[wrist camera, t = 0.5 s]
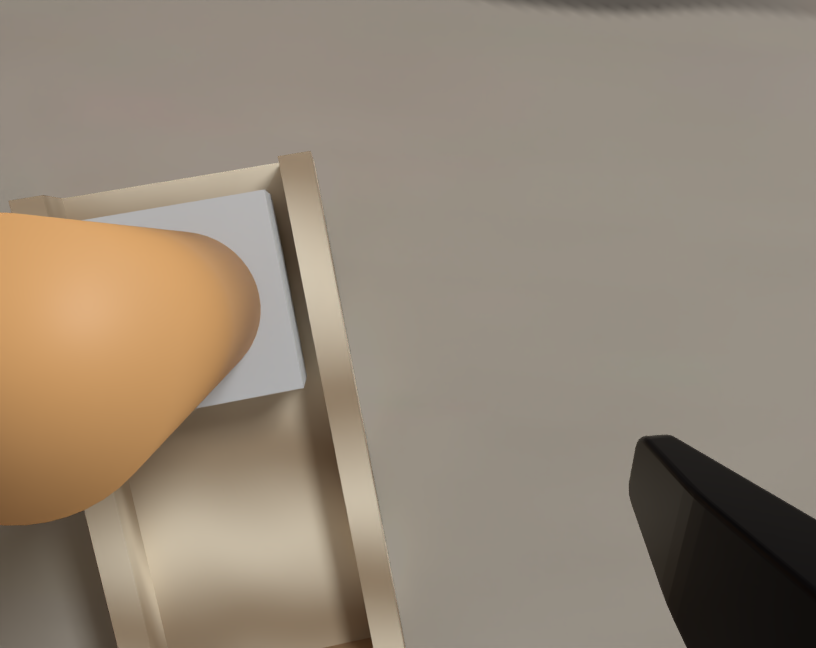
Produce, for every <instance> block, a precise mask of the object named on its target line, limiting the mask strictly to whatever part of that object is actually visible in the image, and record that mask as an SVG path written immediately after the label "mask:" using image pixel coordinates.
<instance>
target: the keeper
mask: <svg viewBox="0 0 816 648" xmlns="http://www.w3.org/2000/svg"><path fill="white" fill-rule="evenodd" d="M306 378H307V372H306V367H305V362H304V357H303V351H302V346H301V341H300V336H299V331H298V326H297V321H296V316H295V311H294V306H293V301H292V296H291V291H290V285H289V280H288V275H287V270H286V265H285V260H284V255H283V250H282V245H281V240H280V235H279V230H278V224H277V219H276V214H275V209H274V204H273V199H272V195H271V194H270V193H268V192H267V191H266V190H258V191H252V192H246V193H241V194H235V195H229V196H223V197H217V198H211V199H205V200H199V201H193V202H187V203H181V204H175V205H169V206H163V207H158V208H152V209H146V210H140V211H134V212H128V213H122V214H116V215H110V216H104V217H98V218H92V219H86V220H73V219H64V218H55V217H45V216H36V215H27V214H18V213H0V525H4V526H6V525H31V524H38V523H46V522H50V521H54V520H58V519H61V518H65V517H68V516H71V515H73V514H76V513H78V512H81V511H83V510H86V509H88V508H89V507H91V506H93V505H95V504H96V503H98V502H100V501H102V500H104V499H105V498H106V497H108V496H109V495H110V494H112V493H113V492H114V491H116V490H117V489H119V488H120V487H121V486H122V485H123V484H124V483H125V482H126V481H127V480H128V479H129V478H130V477H131V476H132V475H133V474H134V473H135V472H136V471H137V470H138V469H139V468H140V467H141V466H142V465H143V464H144V463H145V462H146V461H147V460H148V458H149V457H150V456H151V455H152V454H153V453H154V452H155V451H156V450H157V449H158V448H159V447H160V446H161V445H162V444H163V442H164V441H165V440H166V439H167V438H168V437H169V436H170V435H171V434H172V433H173V432H174V431H175V430H176V429H177V428H178V426H179V425H180V424H181V423H182V422H183V421H184V420H185V419H186V418H187V417H188V416H189V415H190V414H191V413H192V412H193V411H194V409H196V408H201V407H206V406H212V405H217V404H222V403H227V402H233V401H238V400H243V399H248V398H254V397H259V396H264V395H269V394H275V393H280V392H285V391H290V390H296V389H301V388H304V385H305V382H306Z"/></svg>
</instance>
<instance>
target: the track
mask: <svg viewBox="0 0 816 648" xmlns="http://www.w3.org/2000/svg"><path fill="white" fill-rule="evenodd" d="M278 160H279V163H274V164H268V165H262V166H256V167H250V168H244V169H238V170H232V171H226V172H220V173H214V174H208V175H202V176H196V177H190V178H184V179H178V180H172V181H166V182H160V183H154V184H148V185H142V186H136V187H130V188H124V189H117V190H111V191H105V192H99V193H93V194H87V195H81V196H75V197H69V198H63V199H61V198H56V197H50V196H45V195H41V196H35V197H29V198H23V199H17V200H11V201H9V205H10V209H11V213H18V214H27V215H36V216H45V217H55V218H64V219H73V220H86V219H92V218H98V217H104V216H110V215H116V214H122V213H128V212H134V211H140V210H146V209H152V208H158V207H163V206H169V205H175V204H181V203H187V202H193V201H199V200H205V199H211V198H217V197H223V196H229V195H235V194H241V193H246V192H252V191H258V190H266V191H267V192H268V193H270V194H271V195H272V199H273V204H274V209H275V214H276V219H277V224H278V230H279V235H280V240H281V245H282V250H283V255H284V260H285V265H286V270H287V275H288V280H289V285H290V291H291V296H292V301H293V306H294V311H295V316H296V321H297V326H298V331H299V336H300V341H301V346H302V351H303V357H304V362H305V367H306V372H307V378H306V382H305V385H304V388H301V389H296V390H290V391H285V392H280V393H275V394H269V395H264V396H259V397H254V398H248V399H243V400H238V401H233V402H227V403H222V404H217V405H212V406H206V407H201V408H196V409H194V411H193V412H192V413H191V414H190V415H189V416H188V417H187V418H186V419H185V420H184V421H183V422H182V423H181V424H180V425H179V426H178V428H177V429H176V430H175V431H174V432H173V433H172V434H171V435H170V436H169V437H168V438H167V439H166V440H165V441H164V442H163V444H162V445H161V446H160V447H159V448H158V449H157V450H156V451H155V452H154V453H153V454H152V455H151V456H150V457H149V458H148V460H147V461H146V462H145V463H144V464H143V465H142V466H141V467H140V468H139V469H138V470H137V471H136V472H135V473H134V474H133V475H132V476H131V477H130V478H129V479H128V480H127V481H126V482H125V483H124V484H123V485H122V486H121V487H120V488H119V489H117V490H116V491H114V492H113V493H112V494H110V495H109V496H108V497H106V498H105V499H104V500H102V501H100V502H98V503H96V504H95V505H93V506H91V507H89V508H88V509H86V510H84V512H85V516H86V520H87V524H88V528H89V532H90V536H91V540H92V544H93V548H94V552H95V556H96V561H97V565H98V569H99V573H100V577H101V581H102V585H103V589H104V593H105V597H106V601H107V606H108V610H109V614H110V618H111V622H112V626H113V630H114V634H115V638H116V642H117V646H118V648H406V647H405V642H404V637H403V631H402V626H401V621H400V615H399V610H398V605H397V599H396V594H395V589H394V583H393V578H392V573H391V568H390V562H389V557H388V552H387V546H386V541H385V536H384V530H383V525H382V520H381V514H380V509H379V504H378V498H377V493H376V488H375V482H374V477H373V472H372V466H371V461H370V456H369V451H368V445H367V440H366V435H365V429H364V424H363V419H362V413H361V408H360V403H359V397H358V392H357V387H356V381H355V376H354V371H353V365H352V360H351V355H350V349H349V344H348V339H347V334H346V328H345V323H344V318H343V312H342V307H341V302H340V296H339V291H338V286H337V280H336V275H335V270H334V264H333V259H332V254H331V248H330V243H329V238H328V232H327V227H326V222H325V216H324V211H323V206H322V201H321V195H320V190H319V185H318V179H317V174H316V169H315V163H314V160H313V157H312V154H311V151H307V152H301V153H295V154H289V155H283V156H278Z"/></svg>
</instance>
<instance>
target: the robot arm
mask: <svg viewBox="0 0 816 648" xmlns="http://www.w3.org/2000/svg"><path fill="white" fill-rule="evenodd" d="M629 496H630V500H631V504H632V507H633V510H634V512H635V515H636V518H637V521H638V524H639V527H640V530H641V533H642V536H643V538H644V541H645V544H646V547H647V550H648V553H649V556H650V559H651V561H652V564H653V567H654V570H655V573H656V576H657V579H658V582H659V585H660V587H661V590H662V593H663V595H664V598H665V601H666V603H667V606H668V608H669V610H670V613H671V615H672V617H673V619H674V622H675V624H676V626H677V628H678V630H679V632H680V634H681V636H682V639H683V641H684V643H685V645H686V647H687V648H816V519H814V518H812V517H811V516H809V515H807V514H806V513H804V512H802V511H800V510H799V509H797V508H795V507H794V506H792V505H790V504H788V503H787V502H785V501H783V500H782V499H780V498H778V497H776V496H775V495H773V494H771V493H770V492H768V491H766V490H764V489H763V488H761V487H759V486H758V485H756V484H754V483H753V482H751V481H749V480H747V479H746V478H744V477H742V476H741V475H739V474H737V473H735V472H734V471H732V470H730V469H729V468H727V467H725V466H723V465H722V464H720V463H718V462H717V461H715V460H713V459H711V458H710V457H708V456H706V455H705V454H703V453H701V452H699V451H698V450H696V449H694V448H693V447H691V446H689V445H687V444H686V443H684V442H682V441H681V440H679V439H677V438H675V437H673V436H671V435H655V436H644V437H642V438H640V439H639V440H638V442H637V444H636V448H635V453H634V459H633V464H632V469H631V475H630V480H629Z"/></svg>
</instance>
